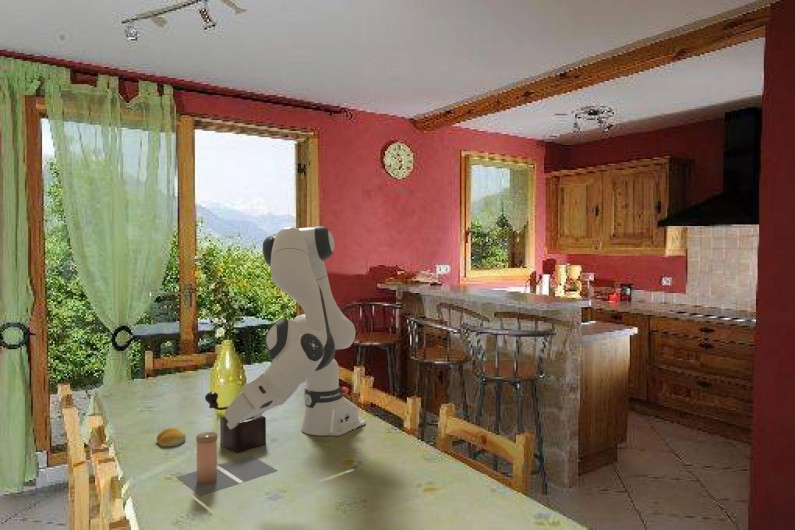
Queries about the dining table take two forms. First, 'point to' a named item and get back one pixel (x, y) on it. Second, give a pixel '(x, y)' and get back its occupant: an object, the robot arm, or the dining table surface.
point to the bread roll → (171, 437)
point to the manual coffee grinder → (239, 430)
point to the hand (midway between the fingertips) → (243, 420)
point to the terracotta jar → (206, 458)
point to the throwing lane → (229, 475)
